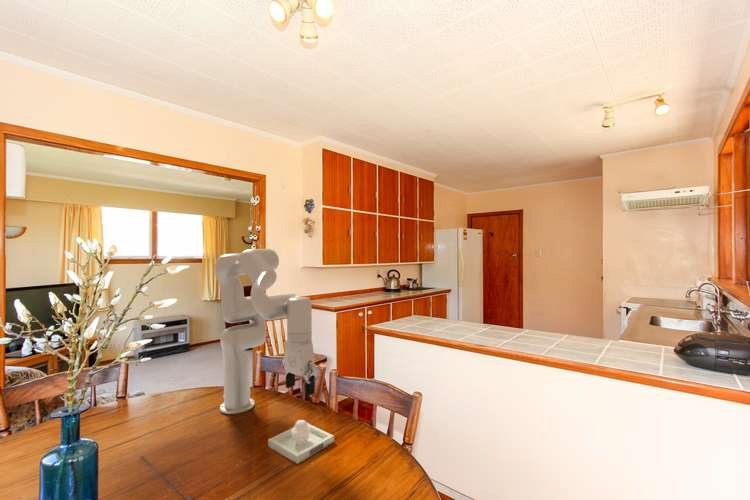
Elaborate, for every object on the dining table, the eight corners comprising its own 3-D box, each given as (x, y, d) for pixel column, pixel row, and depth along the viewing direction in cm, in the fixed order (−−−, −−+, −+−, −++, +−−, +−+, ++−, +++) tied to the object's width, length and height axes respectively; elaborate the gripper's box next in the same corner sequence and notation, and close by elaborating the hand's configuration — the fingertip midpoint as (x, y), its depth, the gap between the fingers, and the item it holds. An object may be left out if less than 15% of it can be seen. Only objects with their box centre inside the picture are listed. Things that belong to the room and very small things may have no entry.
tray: (268, 446, 110) (268, 439, 110) (305, 428, 121) (304, 421, 121) (297, 464, 101) (297, 456, 101) (334, 442, 112) (334, 436, 112)
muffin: (294, 450, 107) (294, 426, 107) (288, 440, 112) (288, 418, 112) (314, 443, 110) (313, 421, 110) (307, 435, 116) (306, 413, 116)
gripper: (273, 334, 114) (273, 387, 114) (307, 344, 103) (308, 402, 103) (292, 330, 120) (292, 380, 120) (327, 338, 109) (327, 394, 109)
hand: (299, 390), depth 111 cm, fingers open, 9 cm apart
